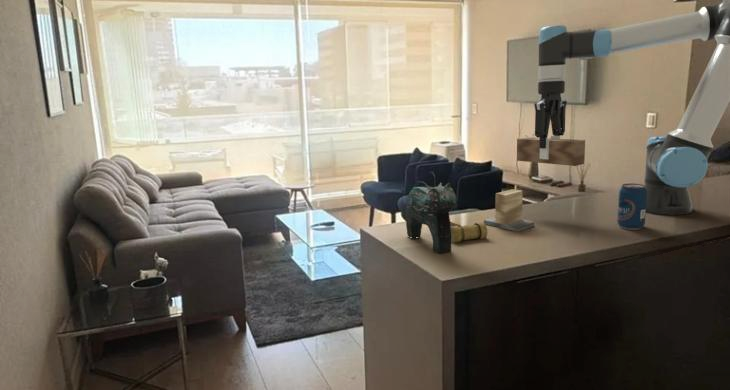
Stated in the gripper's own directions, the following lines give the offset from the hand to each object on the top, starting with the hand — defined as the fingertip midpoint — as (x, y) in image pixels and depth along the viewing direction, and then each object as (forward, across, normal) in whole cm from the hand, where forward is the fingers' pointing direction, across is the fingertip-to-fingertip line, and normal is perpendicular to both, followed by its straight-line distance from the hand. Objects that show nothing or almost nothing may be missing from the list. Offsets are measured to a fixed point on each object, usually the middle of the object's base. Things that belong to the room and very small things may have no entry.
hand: (549, 157), depth 156 cm
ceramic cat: (+18, +48, -5) cm, 51 cm away
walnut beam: (+1, 0, 0) cm, 1 cm away
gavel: (+19, +34, -9) cm, 40 cm away
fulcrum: (+18, +18, -2) cm, 25 cm away
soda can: (+19, -4, +24) cm, 30 cm away
